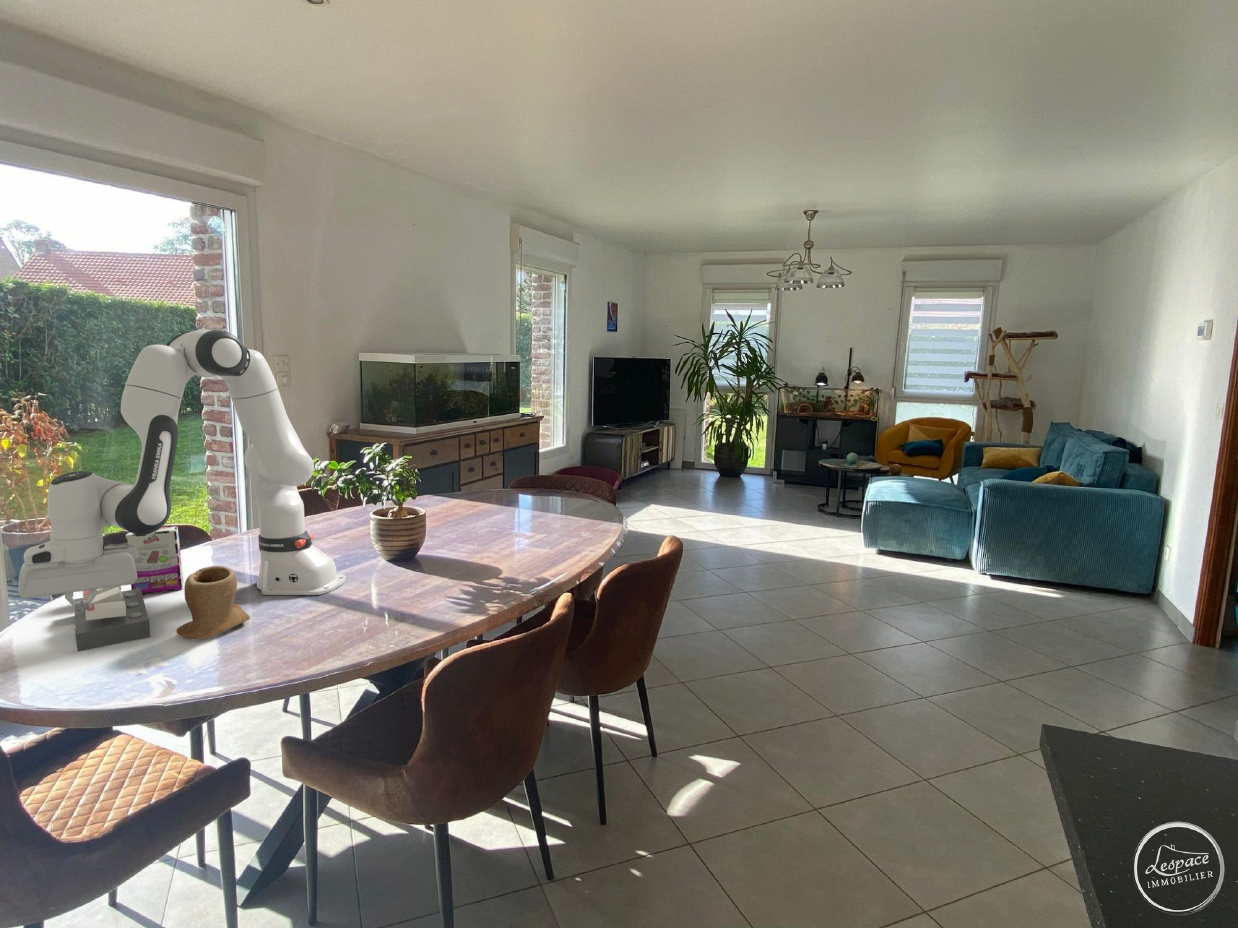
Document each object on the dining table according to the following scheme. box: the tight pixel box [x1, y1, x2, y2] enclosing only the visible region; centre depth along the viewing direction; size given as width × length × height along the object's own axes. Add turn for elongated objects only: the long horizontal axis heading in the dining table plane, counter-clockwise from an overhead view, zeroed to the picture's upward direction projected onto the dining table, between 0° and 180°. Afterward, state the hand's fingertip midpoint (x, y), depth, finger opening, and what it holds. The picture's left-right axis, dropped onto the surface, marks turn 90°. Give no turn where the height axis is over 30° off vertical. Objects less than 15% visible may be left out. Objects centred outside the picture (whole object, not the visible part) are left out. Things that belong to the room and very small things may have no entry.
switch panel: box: [74, 588, 152, 652], centre depth 160 cm, size 13×24×5 cm, turn 38°
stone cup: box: [175, 565, 251, 641], centre depth 158 cm, size 15×12×15 cm
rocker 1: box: [82, 586, 122, 600], centre depth 164 cm, size 7×4×2 cm, turn 127°
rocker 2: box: [83, 587, 123, 604], centre depth 158 cm, size 7×4×2 cm, turn 127°
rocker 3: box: [85, 601, 126, 620], centre depth 153 cm, size 7×4×2 cm, turn 128°
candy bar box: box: [124, 525, 185, 596], centre depth 181 cm, size 11×5×16 cm, turn 117°
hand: (82, 609), depth 150 cm, fingers closed
